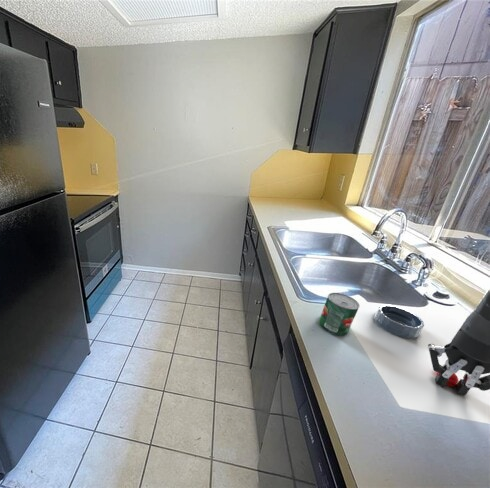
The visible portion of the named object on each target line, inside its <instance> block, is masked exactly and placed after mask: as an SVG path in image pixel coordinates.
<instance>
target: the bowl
mask: <svg viewBox="0 0 490 488" xmlns="http://www.w3.org/2000/svg"><path fill="white" fill-rule="evenodd" d="M373 319H374V322H375V323H376V324H377V325H378V326H379V327H380V328H381V329H383V330H384V331H386V332H387V333H390V334H391V335H394V336H397V337H400V338H404V339H417V338H418V337H419V335H420V333H421V332H422V331H423V328H424V327H425V323H424V321H423V319H422V318H421V317H419V316H418V315H417V314H415V313H413V312H411V311H410V310H408V309H406V308H402V307H399V306H397V305H392V304H381V305H380V306H378V307H377V310H376V312H375V315H374V317H373ZM397 321H398V322H397Z"/></svg>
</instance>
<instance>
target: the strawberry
mask: <svg viewBox="0 0 490 488" xmlns="http://www.w3.org/2000/svg"><path fill="white" fill-rule="evenodd" d="M435 374H436V376H437V375H438V374H439V372H436V373H435ZM458 382H459V378H458V376H457V373H454V374H452V375H451V376H450V377H449V381H448V382H447V384H446V385H445V386H448V387H450V388H455V386H456V385H457V383H458Z"/></svg>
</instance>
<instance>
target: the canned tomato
mask: <svg viewBox="0 0 490 488" xmlns="http://www.w3.org/2000/svg"><path fill="white" fill-rule="evenodd" d="M359 308H360V303H359V302H358V301H357V299H355V298H353V297H352V296H350V295H348V294H344V293H341V292H330V293H328V295H327V297H326V301H325V303H324V306H323V309H322V311H321V314H320V316H319V319H318V325H319V326H320V327H321V329H323V330H324V331H325V332H327V333H330V334H332V335H333V336H338V337H341V336H342V337H343V336H346V335H347V334H348V332H349V330H350V329H351V326H352V324H353V322H354V319H355V318H356V315H357V313H358V311H359Z"/></svg>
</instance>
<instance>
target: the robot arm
mask: <svg viewBox="0 0 490 488" xmlns="http://www.w3.org/2000/svg"><path fill="white" fill-rule="evenodd" d="M427 347H428V352H429V357H430V361H431V365H432V369H433V371H434V372H436V373H437V372H439V374H438V375H436V376H435V377H434V382H435V384H436V385H438V386H439V387H441V388H442V389H443V388H445V387H446V386H447V385H446V384H447V382H448V381H449V377H450V376H451V375H452V374H454V373H455V374H457V373H458V372H459V371H463V372H464V374H463V376H462V378H460V379H459V380H458V383H457V385H456V386H455V387H454V389H455V390H454V391H455V393H456V394H457V395H459V396H466V395H467V394H468V393H469V391H470V390H471V389H474V388H475V389H479V390H480V391H483V392H485V391H490V289H488V290H487V291H486V292H485V294H484V295H483V296H482V298H481V299H480V301H479V303H478V304H477V306H475V308H474V309H473V310H472V312H471V313H470V314H469V315H468V316H467V317H466V319H465V320H464V321H463V323H462V325H461V326H460V327H459V328H458V331H457V332H456V333H455V335H454V336H453V338H452V339H451V341H450V342H449V343H447V344H445V345H444V346H438V345H437V346H436V344H434V343H428V344H427ZM444 353H445V355H446V360H445V363H444V364H443V365H442V364H440V361H439V358H440V357H442V356H443V354H444ZM486 374H487V375H486ZM482 375H484V376H482ZM481 376H482V377H481Z"/></svg>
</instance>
